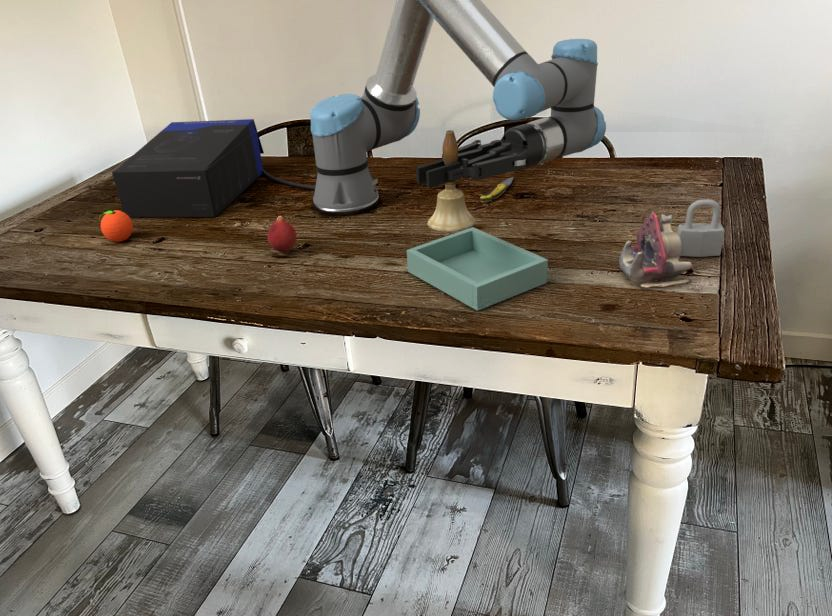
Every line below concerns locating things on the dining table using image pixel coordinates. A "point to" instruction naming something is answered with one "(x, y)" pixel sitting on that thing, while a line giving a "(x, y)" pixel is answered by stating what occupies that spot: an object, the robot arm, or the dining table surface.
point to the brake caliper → (654, 254)
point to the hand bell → (451, 197)
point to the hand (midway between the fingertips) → (423, 177)
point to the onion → (282, 235)
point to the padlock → (701, 232)
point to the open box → (477, 267)
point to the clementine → (116, 225)
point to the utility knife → (496, 191)
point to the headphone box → (190, 169)
